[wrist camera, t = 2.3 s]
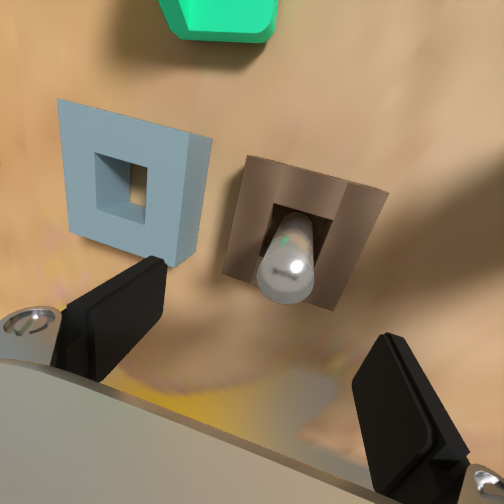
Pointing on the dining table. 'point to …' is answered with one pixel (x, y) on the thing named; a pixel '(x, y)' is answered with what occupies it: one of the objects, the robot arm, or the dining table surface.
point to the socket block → (118, 181)
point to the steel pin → (288, 262)
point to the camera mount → (221, 19)
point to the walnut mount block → (307, 200)
